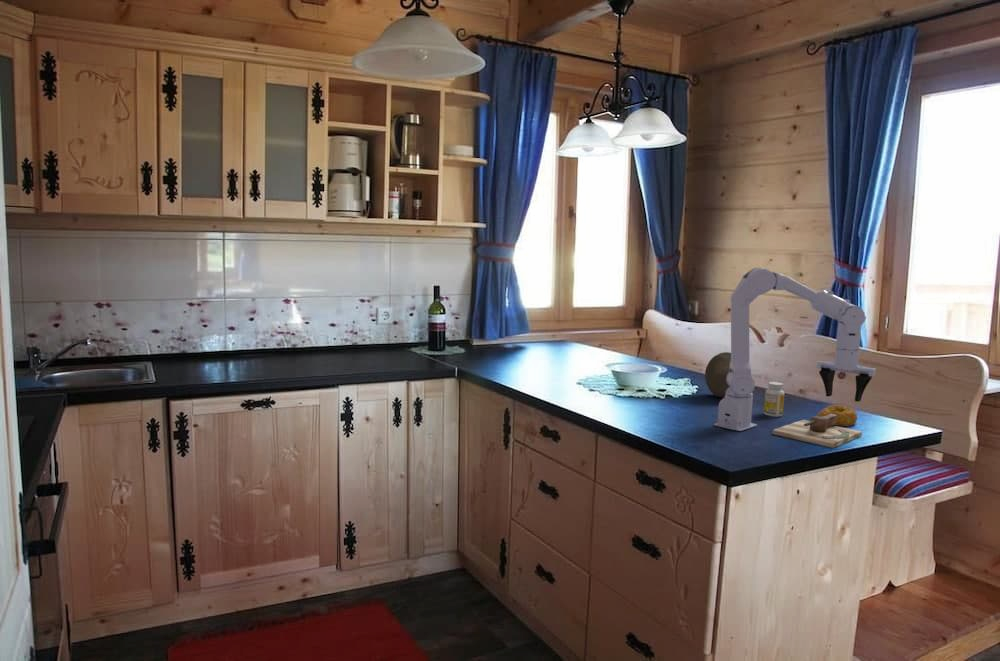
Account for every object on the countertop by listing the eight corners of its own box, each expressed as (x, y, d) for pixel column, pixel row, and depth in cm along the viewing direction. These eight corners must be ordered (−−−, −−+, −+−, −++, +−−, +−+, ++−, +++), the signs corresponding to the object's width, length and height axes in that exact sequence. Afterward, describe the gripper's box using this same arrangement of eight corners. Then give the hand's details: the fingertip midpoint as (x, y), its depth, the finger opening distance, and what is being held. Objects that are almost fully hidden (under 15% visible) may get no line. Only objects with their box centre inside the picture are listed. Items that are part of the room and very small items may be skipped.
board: (833, 447, 181) (833, 442, 180) (772, 434, 192) (773, 428, 192) (861, 435, 193) (862, 430, 192) (803, 423, 204) (803, 418, 204)
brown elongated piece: (812, 436, 186) (813, 424, 185) (797, 432, 188) (798, 420, 188) (840, 425, 197) (841, 413, 197) (826, 422, 200) (827, 411, 200)
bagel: (809, 417, 212) (811, 402, 212) (847, 419, 212) (848, 403, 211) (823, 426, 202) (825, 410, 202) (863, 428, 202) (864, 411, 201)
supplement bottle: (768, 417, 211) (771, 385, 210) (760, 412, 216) (762, 381, 215) (786, 417, 212) (788, 385, 210) (777, 412, 217) (779, 381, 216)
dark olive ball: (695, 397, 235) (698, 352, 233) (715, 391, 245) (718, 348, 243) (736, 405, 225) (739, 358, 223) (755, 398, 236) (758, 353, 234)
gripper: (881, 351, 190) (877, 401, 192) (826, 344, 200) (822, 391, 202) (871, 353, 185) (867, 404, 187) (815, 346, 195) (811, 395, 197)
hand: (843, 398), depth 194 cm, fingers open, 7 cm apart
